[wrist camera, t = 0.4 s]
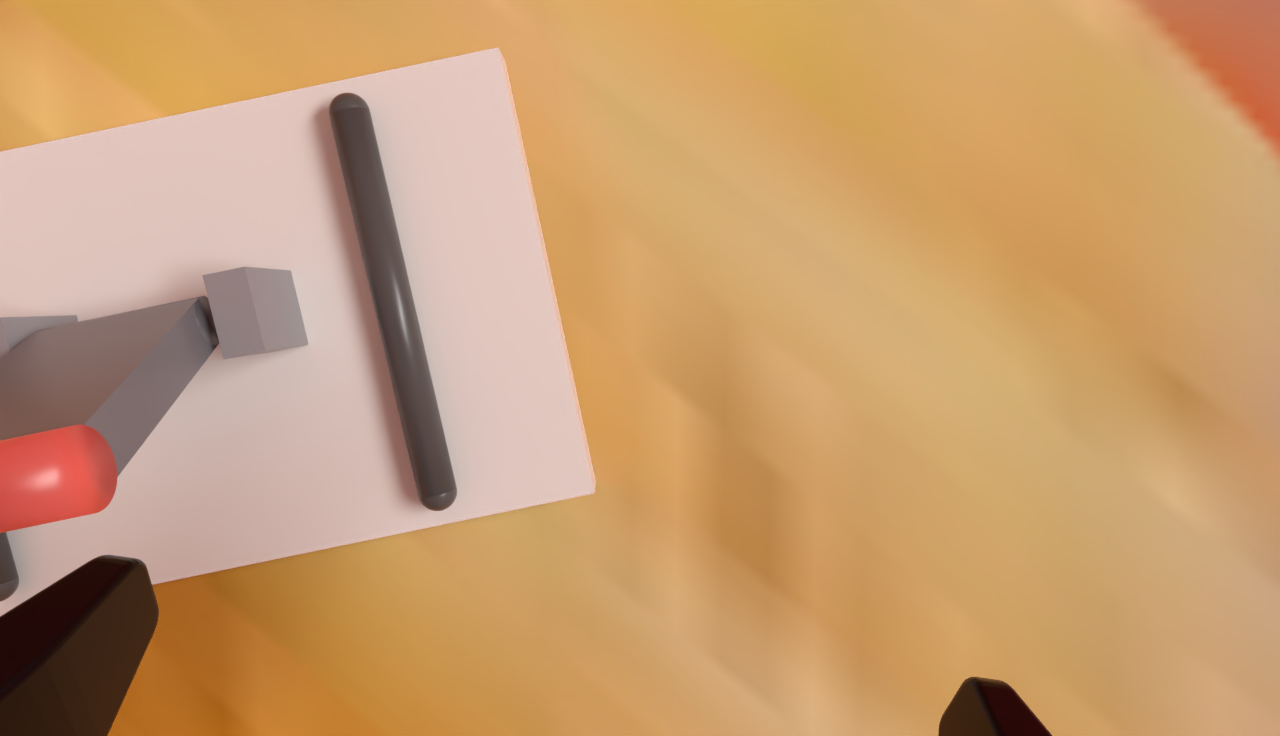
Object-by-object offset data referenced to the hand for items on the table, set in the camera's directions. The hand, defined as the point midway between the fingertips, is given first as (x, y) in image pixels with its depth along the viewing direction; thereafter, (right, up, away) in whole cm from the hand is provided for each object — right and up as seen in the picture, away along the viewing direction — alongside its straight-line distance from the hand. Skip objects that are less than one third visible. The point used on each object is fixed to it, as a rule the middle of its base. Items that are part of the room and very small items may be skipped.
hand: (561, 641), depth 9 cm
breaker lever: (-11, +4, +11) cm, 16 cm away
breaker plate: (-12, +4, +14) cm, 18 cm away
